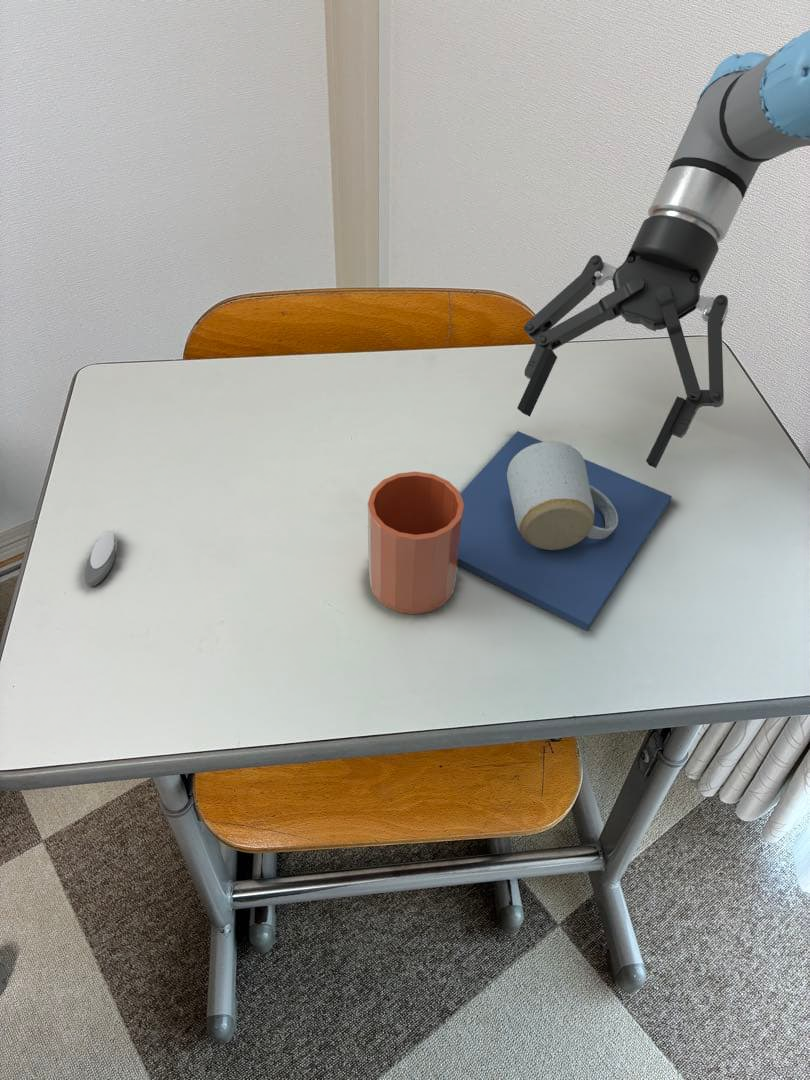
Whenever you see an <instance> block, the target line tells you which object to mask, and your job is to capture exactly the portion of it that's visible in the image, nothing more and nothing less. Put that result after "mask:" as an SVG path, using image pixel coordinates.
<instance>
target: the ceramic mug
mask: <svg viewBox="0 0 810 1080" xmlns="http://www.w3.org/2000/svg"><path fill="white" fill-rule="evenodd" d="M584 459H585V458H584V457H583V455H582V454H581V452H580V451H579V449H577V448H575V447H574V446H572V445H570V444H568V443H566V442H562V441H553V440H551V441H550V440H549V441H543V442H540V443H536V444H533V445H531V446H528V447H526V448H525V449H523V450H521V451H520V452H519V453H518V454H517V455H515V457H514V458H513V459H512V460H511V462H510V464H509V466H508V471H507V480H508V485H509V489H510V495H511V500H512V504H513V509H514V514H515V521H516V524H517V527H518V529H519V531H520V534H521V536H522V537H523V539H524V540H525V541H526V542H527V543H529V544H530V545H532V546H534V547H536V548H539V549H545V550H558V549H564V548H567V547H571V546H573V545H575V544H577V543H578V542H580V541H581V540H583V539H584V538H585V537H588V538H591V539H604V538H607V537H608V536H609V535H610V534H611V533H612V532H613V531H614V530H615V528H616V527H617V524H618V515H617V512H616V510H615V508H614V506H613V504H612V503H611V502H610V500H609V499H608V498H607V497H606V496H605V495H604V494H603V493H601V492H600V491H599V490H597V489H596V488H594V487H593V486H591V485H589V481H588V476H587V470H586V465H585V461H584ZM593 504H594V505H595V506H596V507H597V508H598V509H599V510H600V511H601V512H602V514H603V515H604V520H605V527H604V528H605V529H604V528H599V527H597V526H593V522H594V505H593Z"/></svg>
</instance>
